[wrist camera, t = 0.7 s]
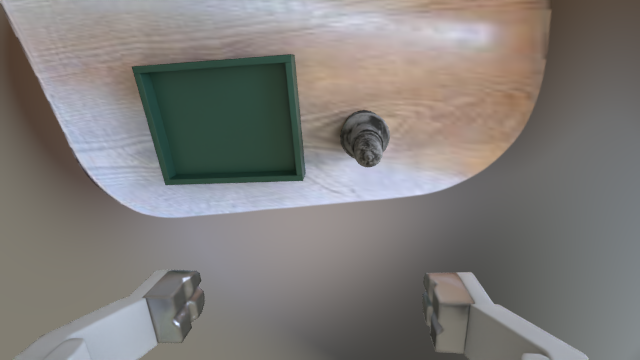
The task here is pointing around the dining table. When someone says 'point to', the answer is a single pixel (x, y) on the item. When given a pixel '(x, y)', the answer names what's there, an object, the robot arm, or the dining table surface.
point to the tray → (224, 119)
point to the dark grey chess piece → (365, 137)
